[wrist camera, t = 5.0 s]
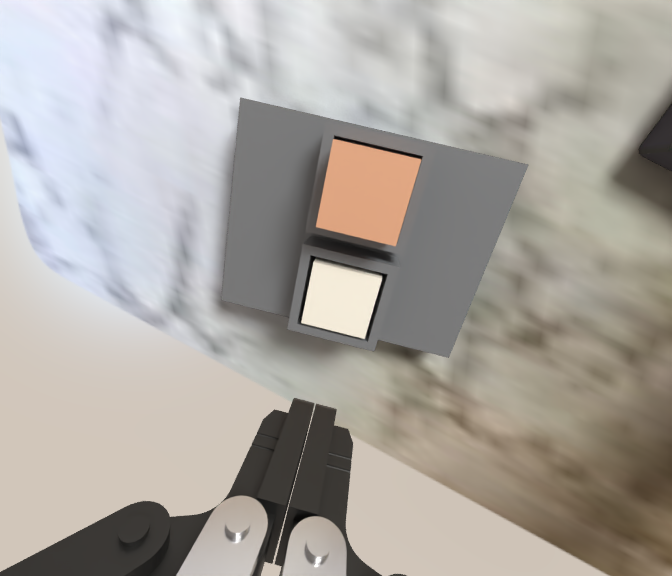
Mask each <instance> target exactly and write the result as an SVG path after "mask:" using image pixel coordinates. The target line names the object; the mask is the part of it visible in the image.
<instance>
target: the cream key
mask: <svg viewBox="0 0 672 576" xmlns="http://www.w3.org/2000/svg"><path fill="white" fill-rule="evenodd" d="M381 281H382V273H380V272H376V271H372V270H368V269H364V268H360V267H356V266H352V265H348V264H344V263H340V262H336V261H332V260H328V259H324V258H320V257H316V259H315V260H314V262H313V267H312V272H311V277H310V282H309V287H308V292H307V297H306V302H305V306H304V311H303V316H302V321H301V323H304V324H307V325H311V326H315V327H319V328H323V329H327V330H331V331H335V332H339V333H343V334H347V335H351V336H355V337H359V338H363V339H365V336H366V332H367V329H368V326H369V322H370V319H371V315H372V312H373V308H374V305H375V301H376V298H377V295H378V291H379V288H380V284H381Z"/></svg>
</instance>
